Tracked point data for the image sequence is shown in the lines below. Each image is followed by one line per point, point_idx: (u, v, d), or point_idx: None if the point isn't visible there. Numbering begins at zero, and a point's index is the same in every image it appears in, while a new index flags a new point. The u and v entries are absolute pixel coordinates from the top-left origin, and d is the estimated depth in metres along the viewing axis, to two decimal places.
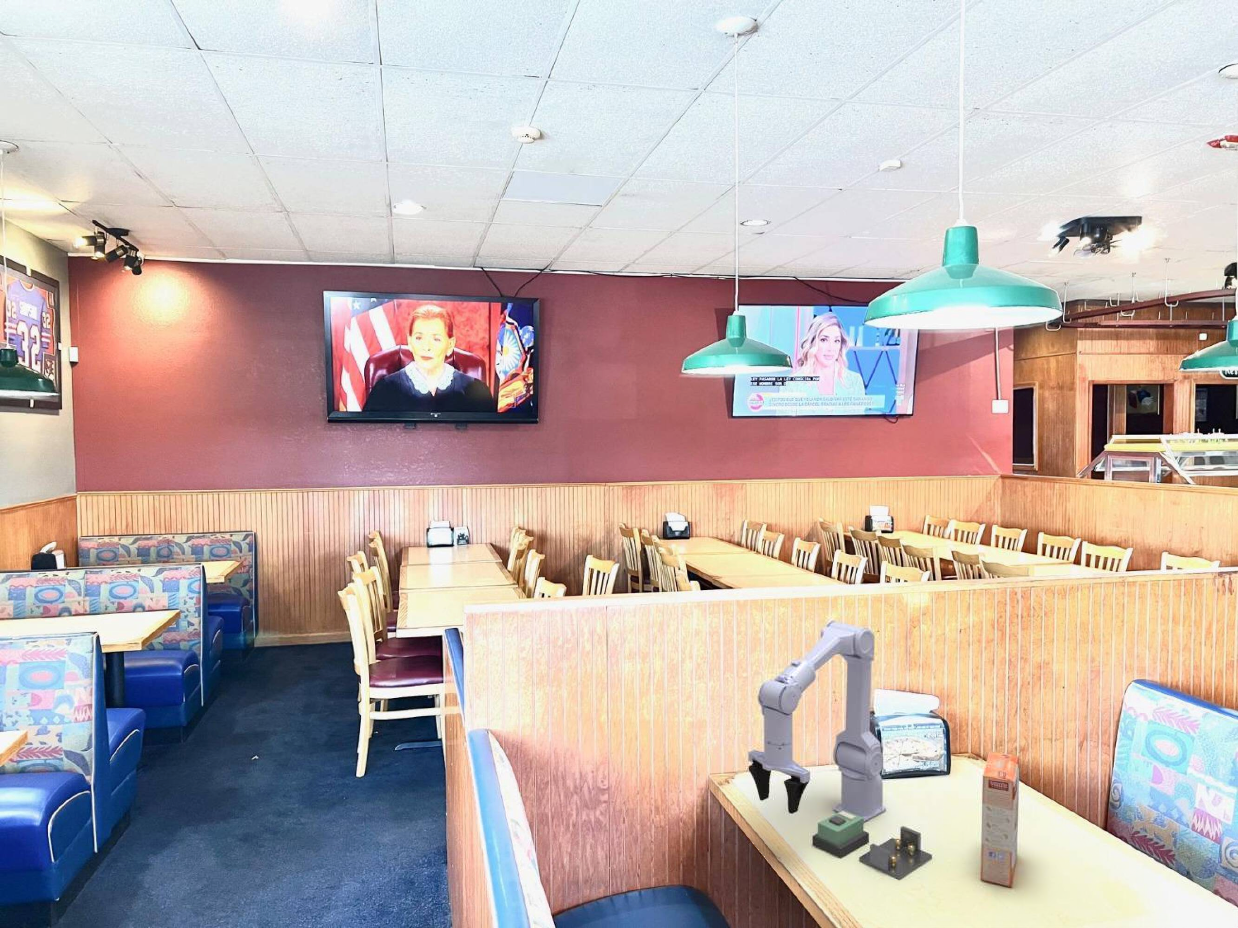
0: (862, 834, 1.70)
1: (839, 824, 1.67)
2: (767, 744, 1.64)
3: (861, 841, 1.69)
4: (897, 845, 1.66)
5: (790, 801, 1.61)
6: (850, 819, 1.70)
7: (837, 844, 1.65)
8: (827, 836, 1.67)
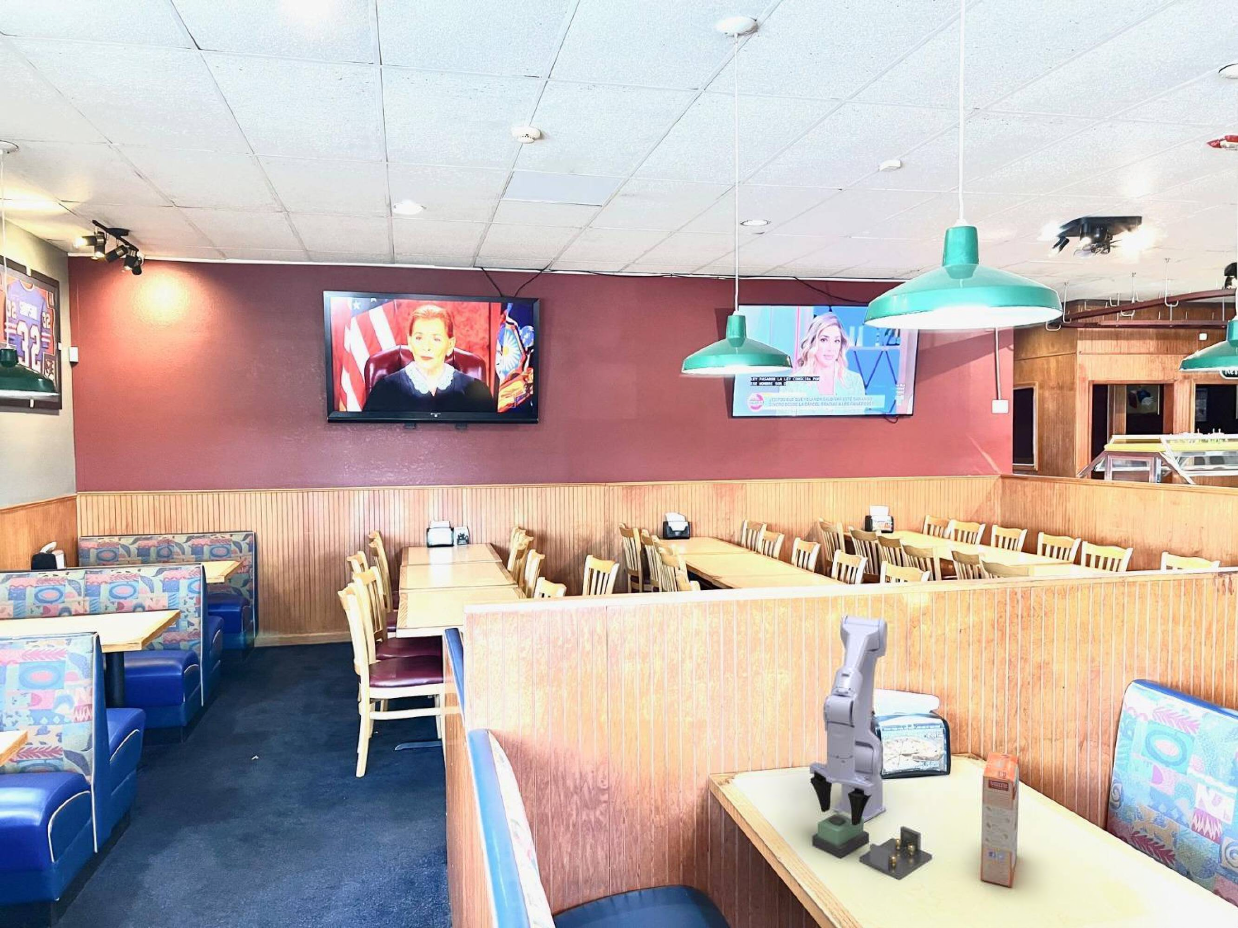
0: (862, 834, 1.70)
1: (839, 824, 1.67)
2: (830, 757, 1.68)
3: (861, 841, 1.69)
4: (897, 845, 1.66)
5: (854, 813, 1.65)
6: (850, 819, 1.70)
7: (837, 844, 1.65)
8: (827, 836, 1.67)
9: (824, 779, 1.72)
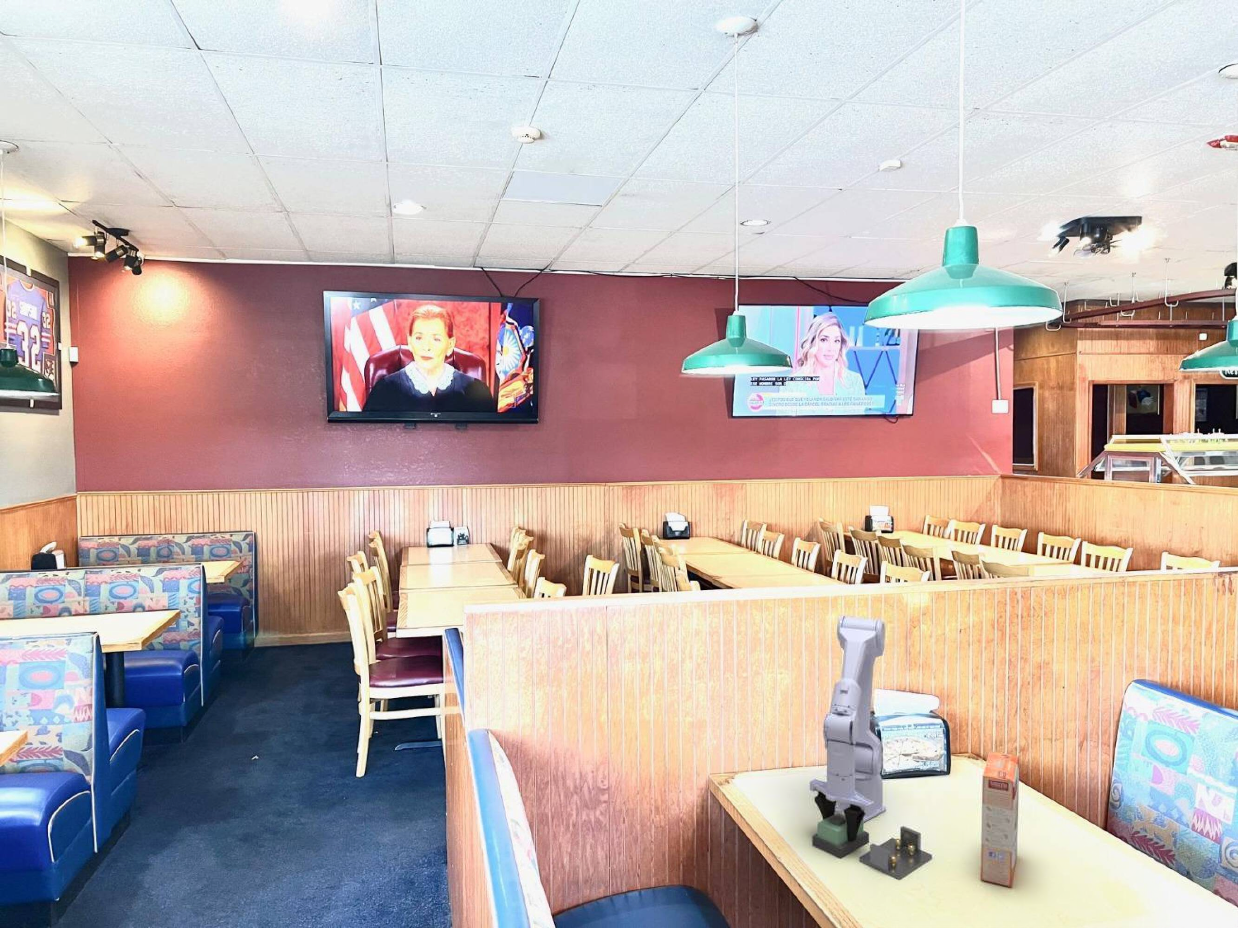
0: (862, 834, 1.70)
1: (839, 824, 1.67)
2: (830, 775, 1.68)
3: (861, 841, 1.69)
4: (897, 845, 1.66)
5: (849, 829, 1.66)
6: None
7: (837, 844, 1.65)
8: (827, 836, 1.67)
9: None
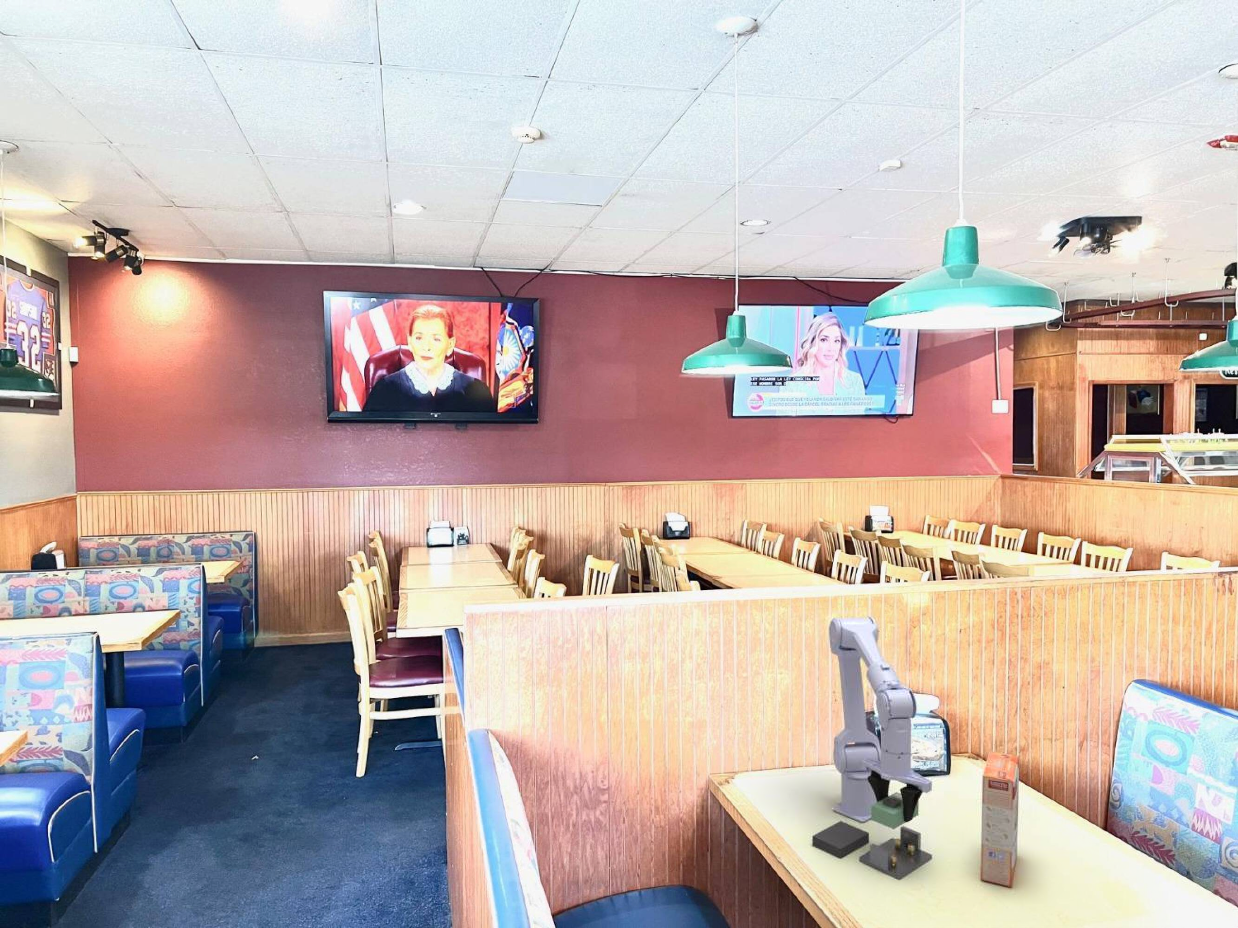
0: (862, 834, 1.70)
1: (894, 806, 1.60)
2: (885, 753, 1.61)
3: (861, 841, 1.69)
4: (897, 845, 1.66)
5: (906, 809, 1.59)
6: None
7: (893, 827, 1.58)
8: (881, 819, 1.60)
9: (882, 777, 1.65)
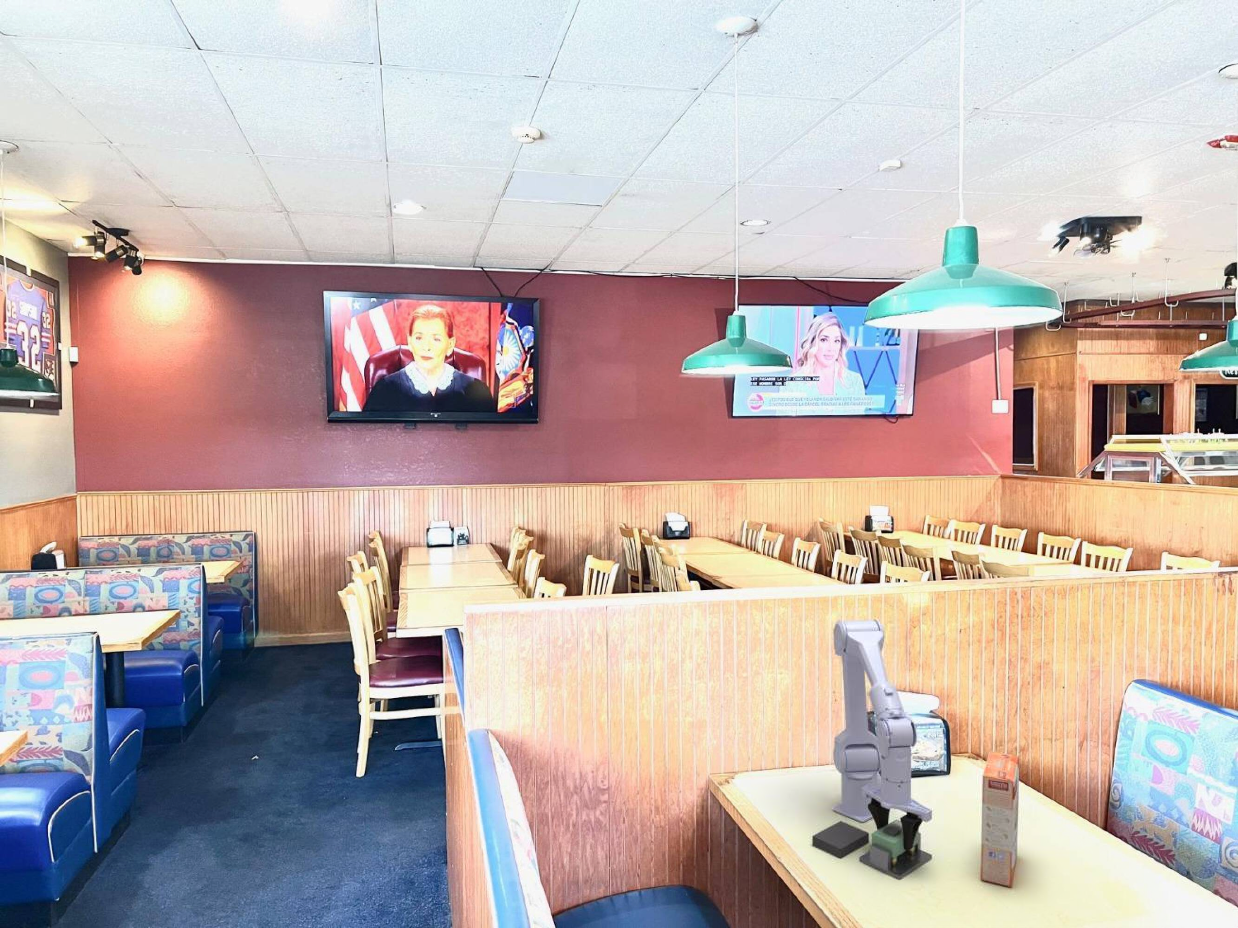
0: (862, 834, 1.70)
1: (894, 835, 1.61)
2: (885, 781, 1.61)
3: (861, 841, 1.69)
4: None
5: (906, 838, 1.60)
6: None
7: (893, 856, 1.58)
8: None
9: None
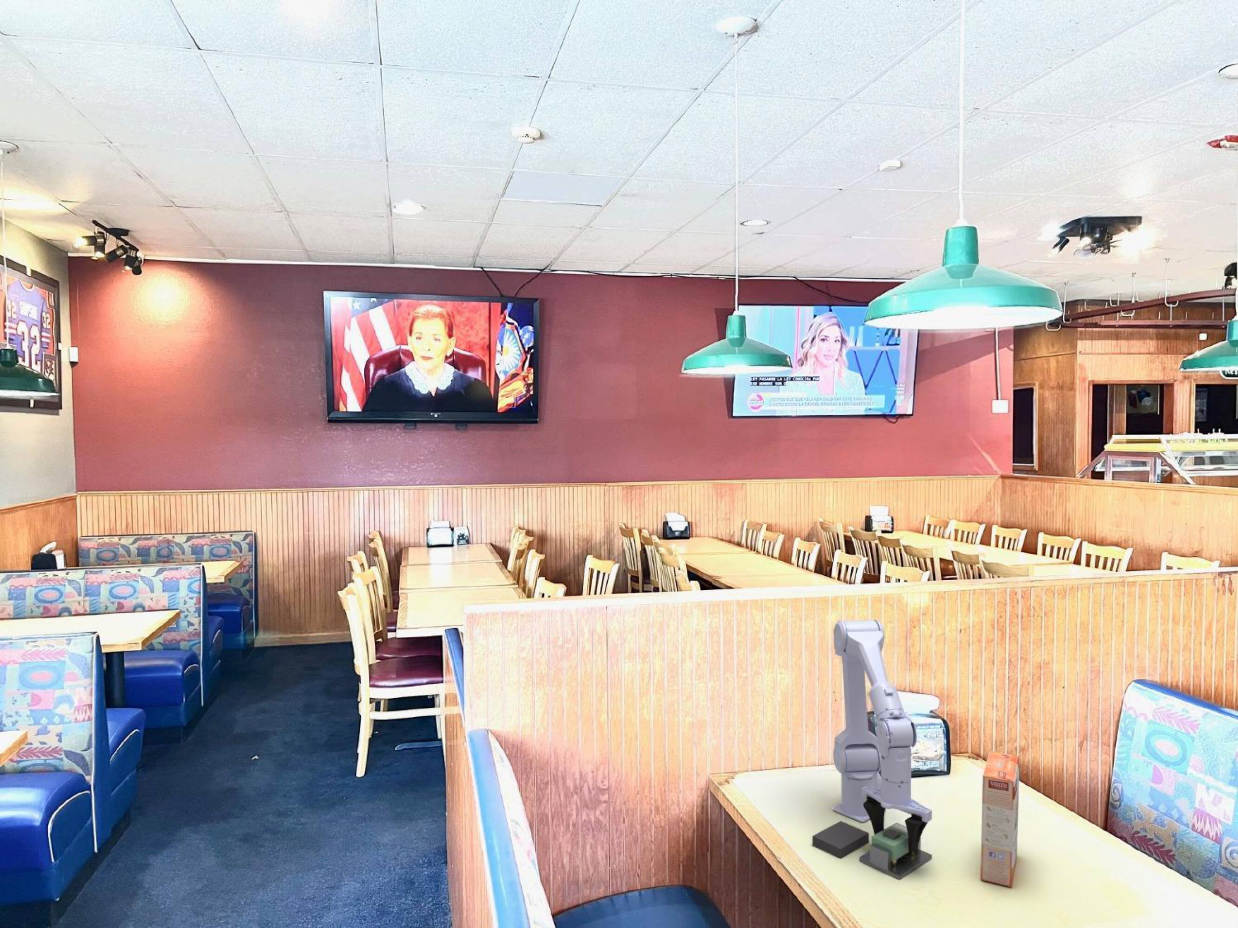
0: (862, 834, 1.70)
1: (894, 838, 1.61)
2: (885, 782, 1.61)
3: (861, 841, 1.69)
4: None
5: (911, 840, 1.59)
6: (905, 833, 1.63)
7: (893, 859, 1.59)
8: None
9: (878, 804, 1.66)
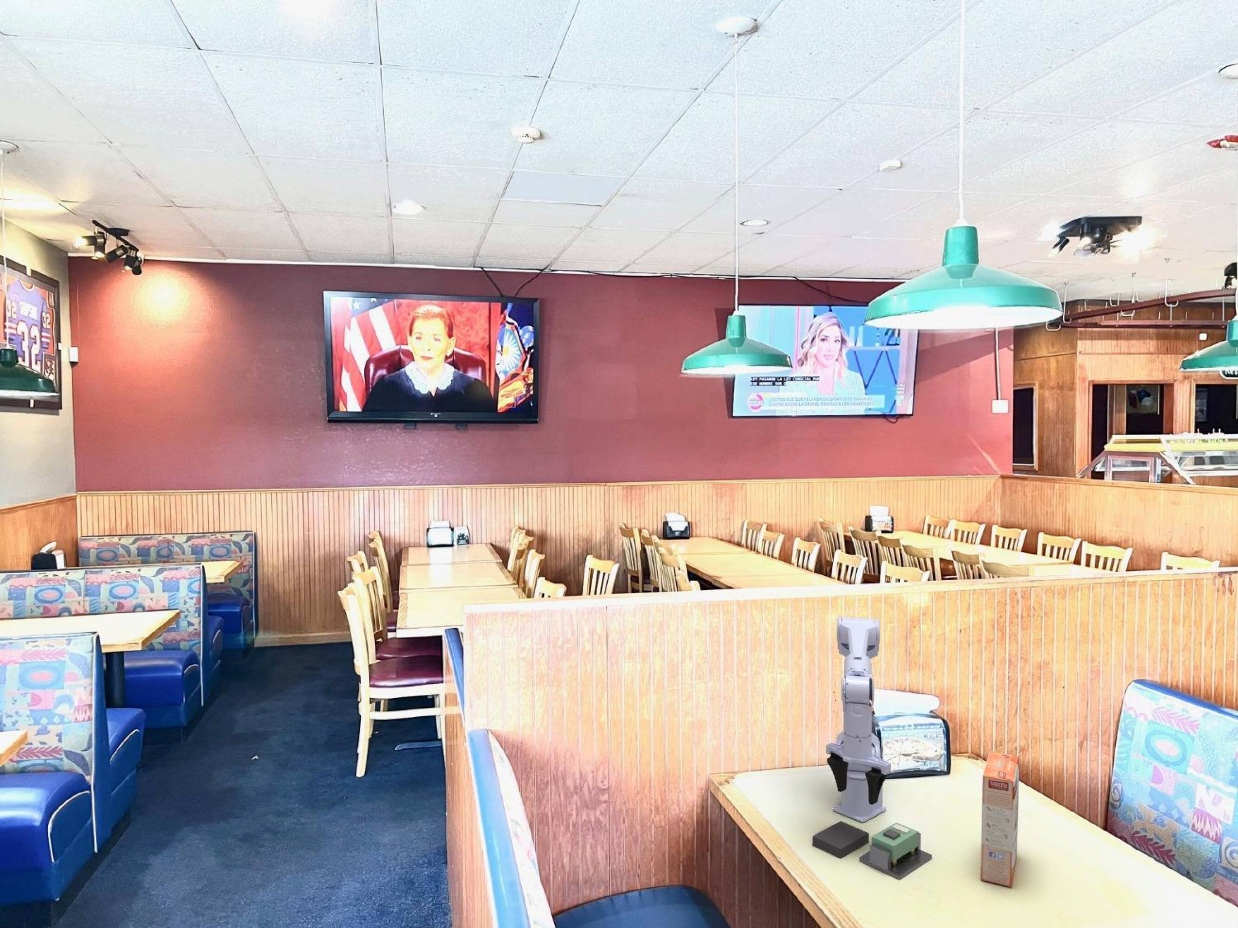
0: (862, 834, 1.70)
1: (894, 838, 1.61)
2: (847, 737, 1.68)
3: (861, 841, 1.69)
4: None
5: (871, 792, 1.65)
6: (905, 833, 1.63)
7: (893, 859, 1.59)
8: None
9: (840, 759, 1.72)
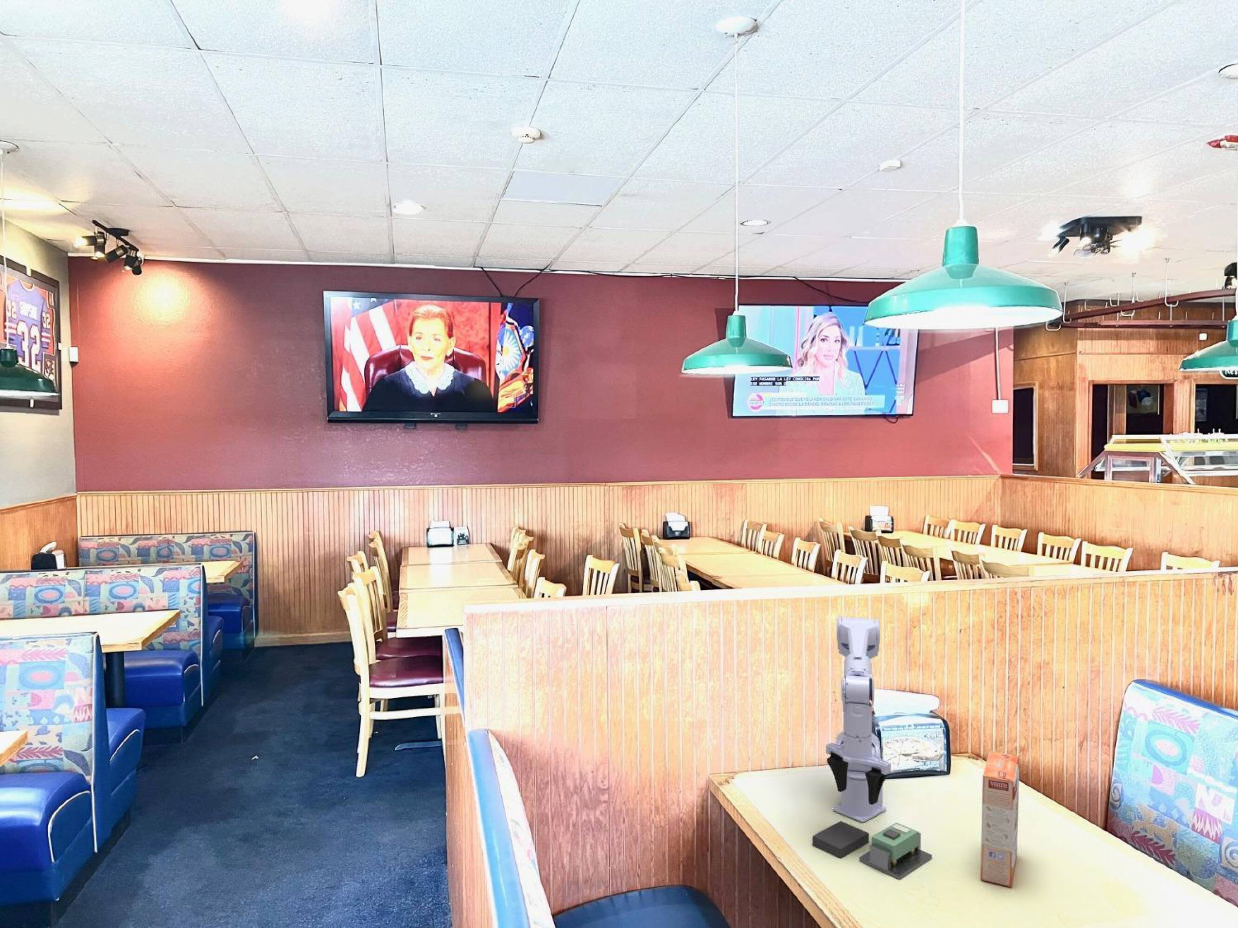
0: (862, 834, 1.70)
1: (894, 838, 1.61)
2: (847, 737, 1.68)
3: (861, 841, 1.69)
4: None
5: (871, 792, 1.65)
6: (905, 833, 1.63)
7: (893, 859, 1.59)
8: None
9: (840, 759, 1.72)
